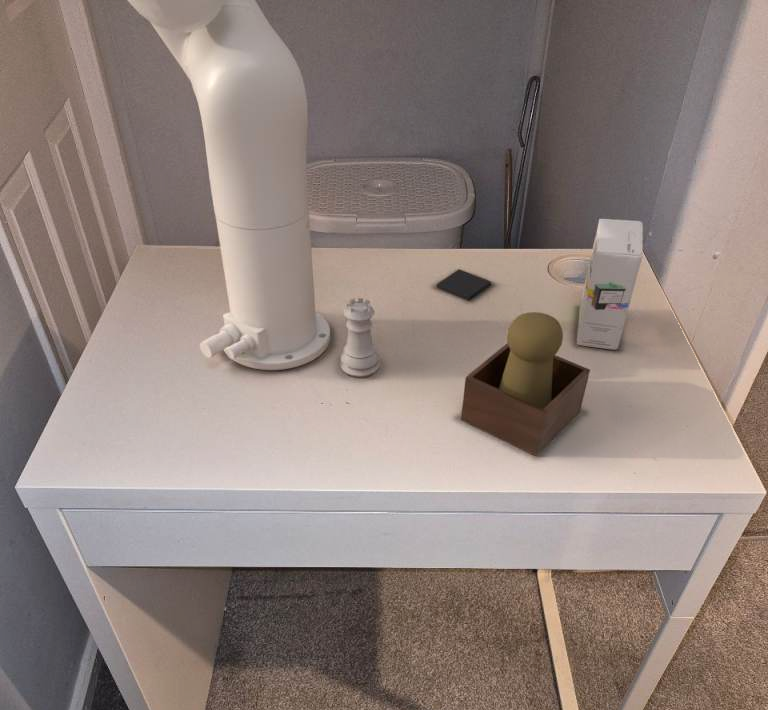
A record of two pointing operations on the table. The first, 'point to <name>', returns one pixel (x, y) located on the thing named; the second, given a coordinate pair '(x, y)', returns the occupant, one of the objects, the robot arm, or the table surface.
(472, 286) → the rubber pad
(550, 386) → the olive yellow pawn
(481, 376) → the walnut box
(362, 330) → the rook chess piece
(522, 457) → the table surface
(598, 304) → the ink box
